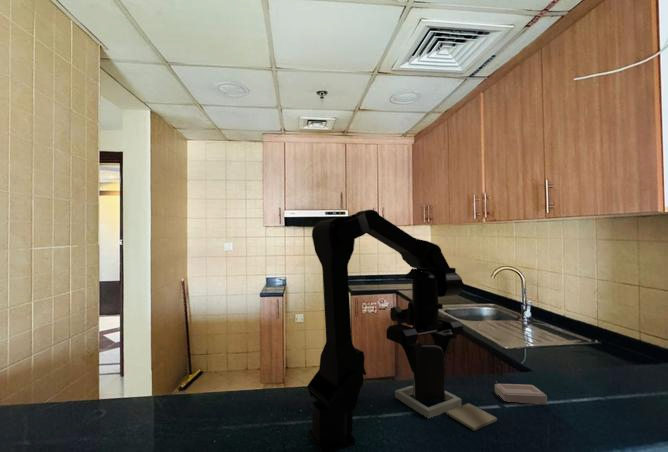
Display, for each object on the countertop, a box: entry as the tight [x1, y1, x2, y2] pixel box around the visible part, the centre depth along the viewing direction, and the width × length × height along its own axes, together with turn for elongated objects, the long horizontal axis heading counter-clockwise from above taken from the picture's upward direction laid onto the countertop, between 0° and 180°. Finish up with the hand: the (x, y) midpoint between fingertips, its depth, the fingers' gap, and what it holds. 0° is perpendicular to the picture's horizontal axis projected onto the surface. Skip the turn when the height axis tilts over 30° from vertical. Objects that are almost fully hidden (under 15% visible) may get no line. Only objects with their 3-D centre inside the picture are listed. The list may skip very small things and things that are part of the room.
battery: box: [412, 343, 446, 401], centre depth 67 cm, size 7×4×11 cm, turn 91°
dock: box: [394, 385, 463, 420], centre depth 66 cm, size 10×10×2 cm
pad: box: [445, 402, 498, 431], centre depth 60 cm, size 7×6×1 cm
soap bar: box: [494, 383, 548, 405], centre depth 68 cm, size 5×9×2 cm, turn 86°
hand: (426, 369), depth 67 cm, fingers closed on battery, 7 cm apart
